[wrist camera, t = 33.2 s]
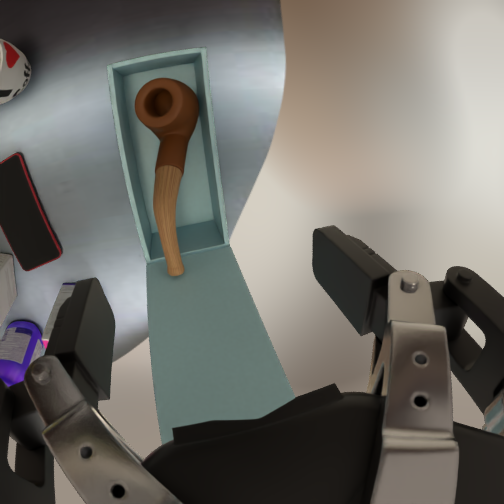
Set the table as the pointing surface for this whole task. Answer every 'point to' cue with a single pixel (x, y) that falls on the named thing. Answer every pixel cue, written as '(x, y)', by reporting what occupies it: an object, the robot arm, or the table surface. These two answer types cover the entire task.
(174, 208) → the pipe
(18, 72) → the cup
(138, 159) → the cool box
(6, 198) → the smartphone
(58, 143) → the table surface
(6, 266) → the white packaging box
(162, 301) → the cool box lid
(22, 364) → the bottle
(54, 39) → the table surface
